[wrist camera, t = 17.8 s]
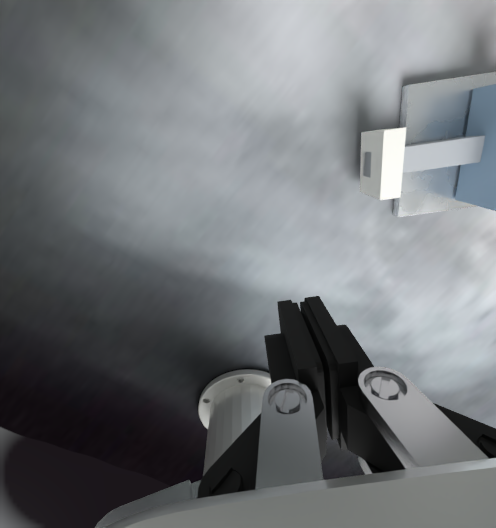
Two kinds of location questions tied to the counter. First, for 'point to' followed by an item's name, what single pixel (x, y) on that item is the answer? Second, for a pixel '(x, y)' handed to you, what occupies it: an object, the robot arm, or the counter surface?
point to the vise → (435, 139)
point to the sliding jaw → (436, 156)
